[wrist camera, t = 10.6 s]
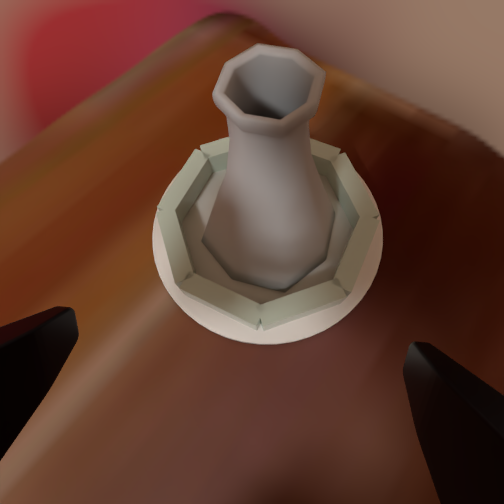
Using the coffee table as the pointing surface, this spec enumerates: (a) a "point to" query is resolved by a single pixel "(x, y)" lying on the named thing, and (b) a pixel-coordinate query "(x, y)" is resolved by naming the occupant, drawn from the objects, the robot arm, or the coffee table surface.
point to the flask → (270, 171)
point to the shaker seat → (255, 297)
